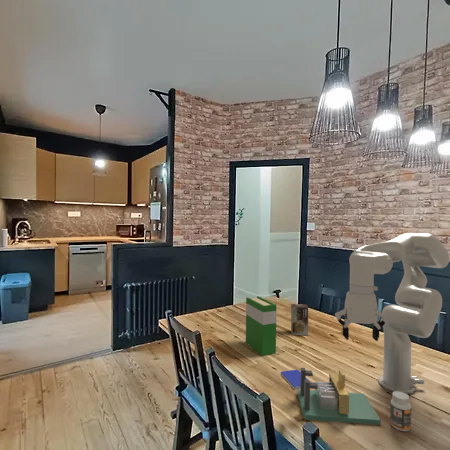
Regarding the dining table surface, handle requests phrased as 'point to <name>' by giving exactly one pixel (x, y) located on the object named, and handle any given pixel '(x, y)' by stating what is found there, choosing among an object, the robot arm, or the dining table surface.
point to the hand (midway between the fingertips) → (360, 338)
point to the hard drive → (292, 378)
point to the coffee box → (299, 319)
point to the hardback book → (261, 325)
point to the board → (311, 411)
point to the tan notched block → (341, 391)
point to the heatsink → (327, 396)
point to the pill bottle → (400, 411)
